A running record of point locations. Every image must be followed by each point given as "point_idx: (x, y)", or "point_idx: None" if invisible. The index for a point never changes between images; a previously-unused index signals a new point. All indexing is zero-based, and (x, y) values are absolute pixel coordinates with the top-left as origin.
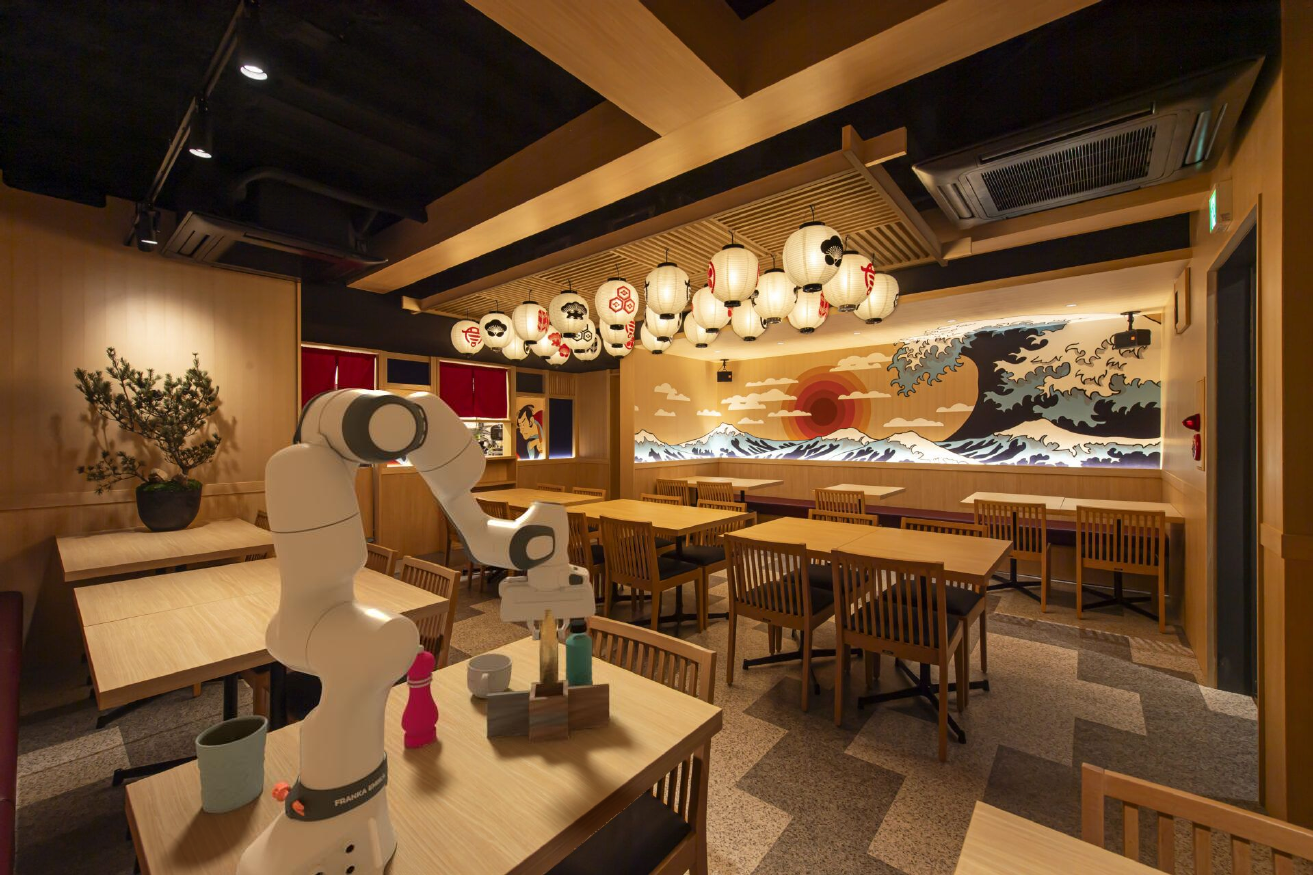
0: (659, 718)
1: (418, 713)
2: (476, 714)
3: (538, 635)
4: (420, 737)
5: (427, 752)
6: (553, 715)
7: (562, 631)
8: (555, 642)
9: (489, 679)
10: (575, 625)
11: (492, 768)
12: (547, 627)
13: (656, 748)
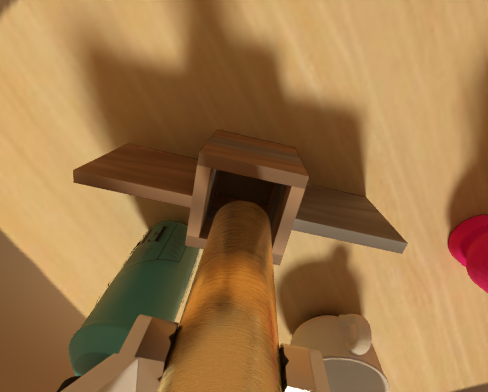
0: (19, 131)
1: None
2: (363, 276)
3: (290, 367)
4: None
5: (479, 192)
6: (243, 149)
7: (135, 352)
8: (197, 301)
9: (344, 341)
10: None
11: (384, 87)
12: None
13: (33, 15)
